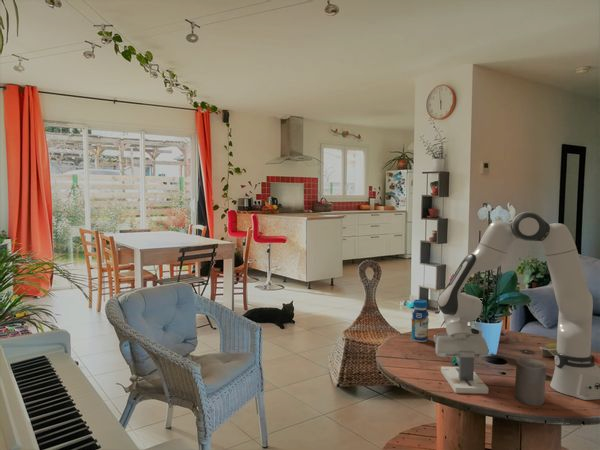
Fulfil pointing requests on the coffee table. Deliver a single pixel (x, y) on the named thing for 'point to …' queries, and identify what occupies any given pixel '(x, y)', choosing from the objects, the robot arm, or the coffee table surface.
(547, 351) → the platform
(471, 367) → the fader tab
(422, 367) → the coffee table surface
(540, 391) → the pillar candle
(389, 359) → the coffee table surface
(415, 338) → the beverage bottle
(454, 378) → the board
